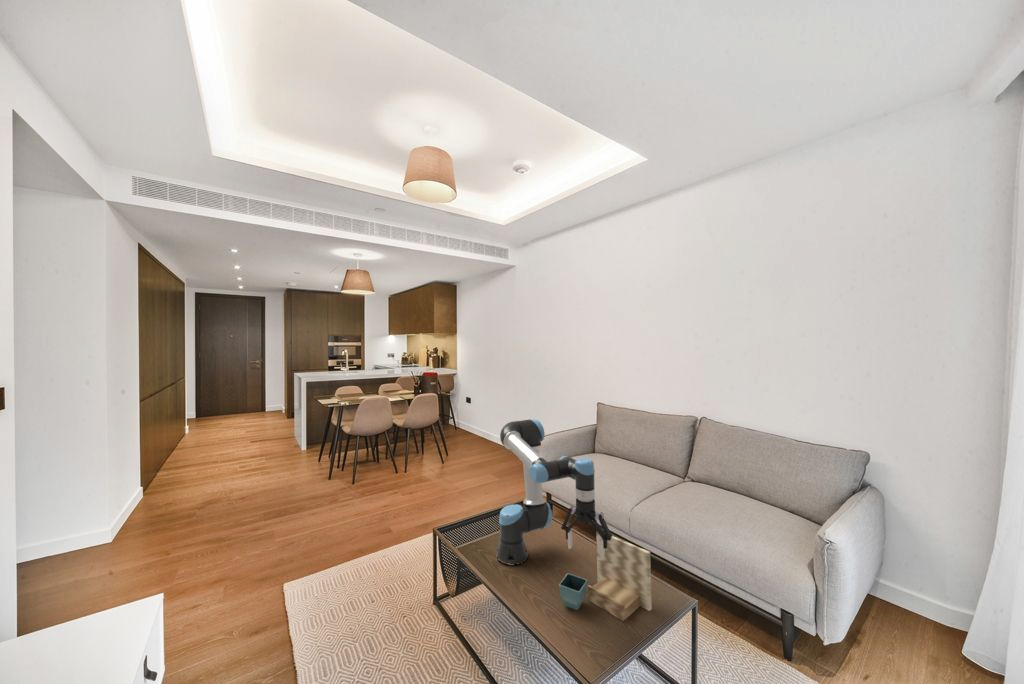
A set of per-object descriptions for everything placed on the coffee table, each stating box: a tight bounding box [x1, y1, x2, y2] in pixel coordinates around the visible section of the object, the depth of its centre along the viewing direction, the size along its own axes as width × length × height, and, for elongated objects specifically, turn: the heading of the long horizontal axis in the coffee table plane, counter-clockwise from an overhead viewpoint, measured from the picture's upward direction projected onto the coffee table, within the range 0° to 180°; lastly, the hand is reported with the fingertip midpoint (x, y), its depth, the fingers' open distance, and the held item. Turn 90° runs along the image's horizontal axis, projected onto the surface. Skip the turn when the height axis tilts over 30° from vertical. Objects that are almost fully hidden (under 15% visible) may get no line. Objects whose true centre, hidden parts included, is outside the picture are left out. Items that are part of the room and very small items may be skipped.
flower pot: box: [558, 573, 588, 611], centre depth 145 cm, size 9×9×9 cm
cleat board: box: [587, 531, 653, 622], centre depth 147 cm, size 24×14×22 cm, turn 42°
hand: (586, 551), depth 148 cm, fingers open, 13 cm apart
